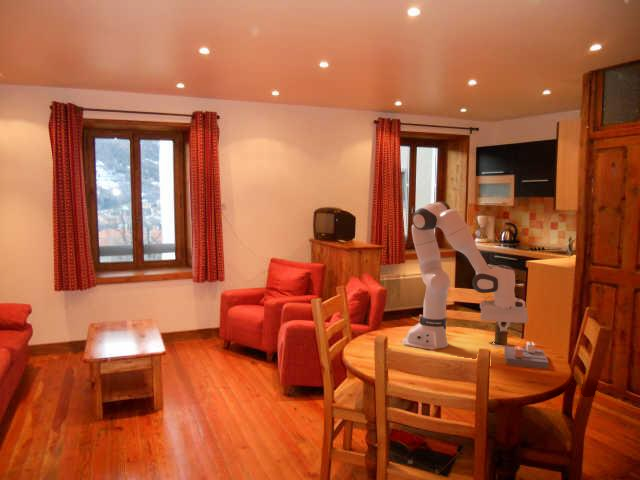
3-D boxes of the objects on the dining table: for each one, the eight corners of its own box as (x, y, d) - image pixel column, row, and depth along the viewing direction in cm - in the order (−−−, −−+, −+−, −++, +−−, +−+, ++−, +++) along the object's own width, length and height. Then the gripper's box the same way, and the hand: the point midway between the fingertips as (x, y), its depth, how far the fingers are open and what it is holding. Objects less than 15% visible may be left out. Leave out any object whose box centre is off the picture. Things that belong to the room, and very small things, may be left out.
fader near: (515, 356, 220) (515, 349, 219) (514, 353, 224) (514, 345, 224) (522, 357, 219) (522, 349, 218) (521, 354, 224) (521, 346, 223)
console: (506, 364, 220) (507, 358, 219) (504, 352, 237) (504, 346, 236) (548, 369, 215) (548, 362, 214) (542, 356, 232) (543, 349, 231)
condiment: (510, 344, 250) (511, 321, 249) (500, 347, 245) (501, 323, 244) (498, 340, 256) (499, 318, 255) (488, 343, 251) (489, 320, 250)
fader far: (527, 352, 226) (527, 344, 226) (526, 348, 231) (526, 341, 231) (534, 352, 226) (534, 345, 225) (533, 349, 230) (533, 342, 230)
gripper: (480, 301, 221) (479, 331, 222) (529, 303, 215) (528, 334, 216) (479, 298, 227) (479, 327, 228) (527, 300, 221) (526, 330, 222)
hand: (503, 331), depth 222 cm, fingers closed
